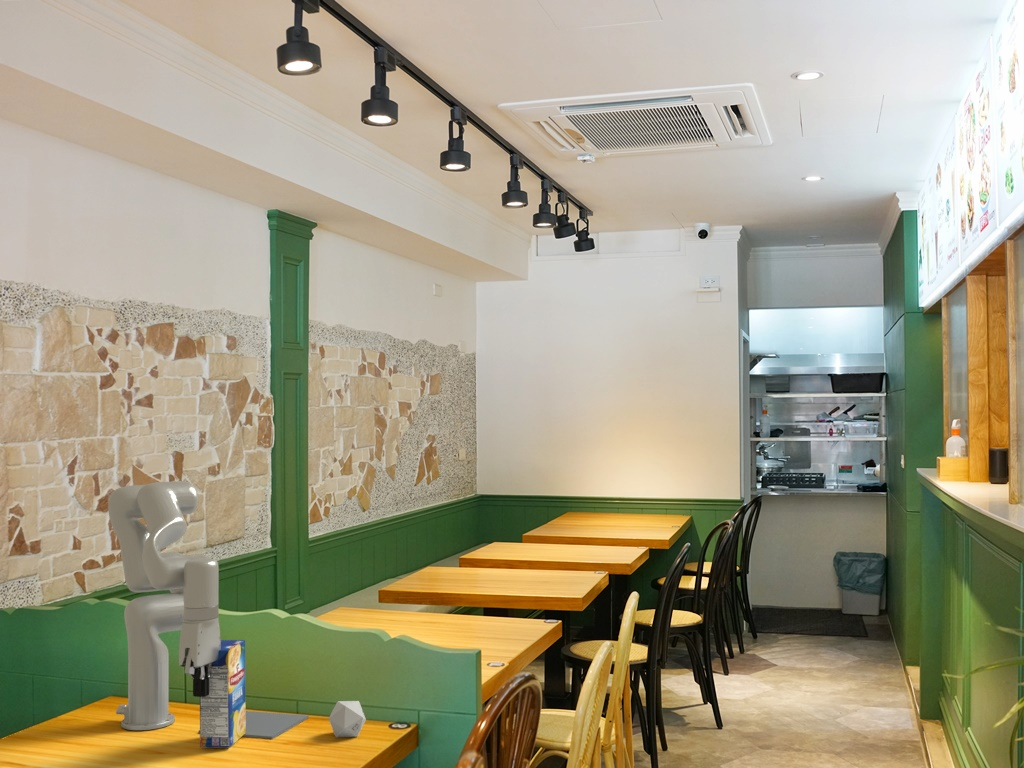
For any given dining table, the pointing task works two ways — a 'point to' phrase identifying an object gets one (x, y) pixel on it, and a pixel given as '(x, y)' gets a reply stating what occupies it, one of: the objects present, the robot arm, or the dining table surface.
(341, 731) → the die
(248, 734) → the mat
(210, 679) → the beverage box
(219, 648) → the robot arm
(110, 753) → the dining table surface
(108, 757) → the dining table surface
